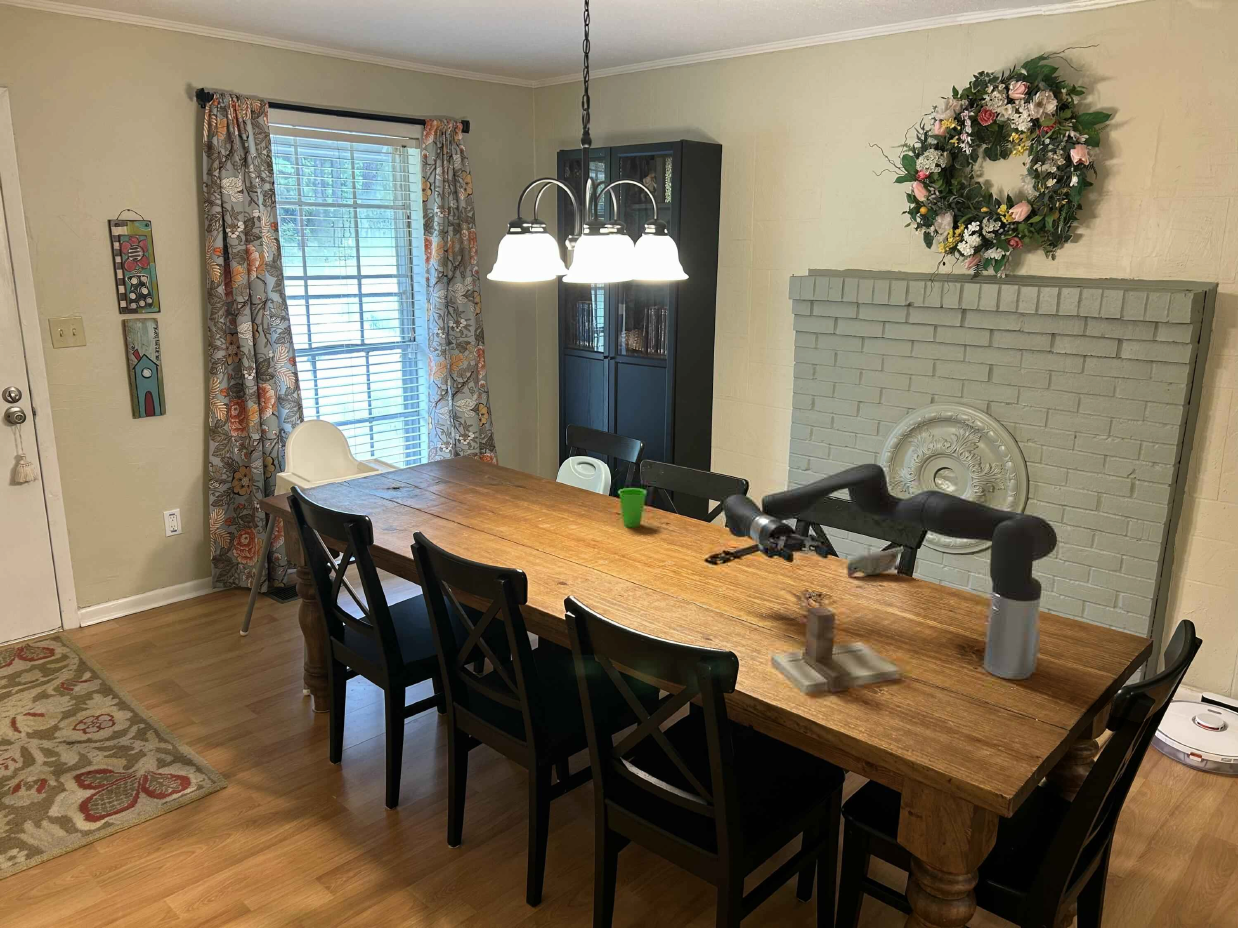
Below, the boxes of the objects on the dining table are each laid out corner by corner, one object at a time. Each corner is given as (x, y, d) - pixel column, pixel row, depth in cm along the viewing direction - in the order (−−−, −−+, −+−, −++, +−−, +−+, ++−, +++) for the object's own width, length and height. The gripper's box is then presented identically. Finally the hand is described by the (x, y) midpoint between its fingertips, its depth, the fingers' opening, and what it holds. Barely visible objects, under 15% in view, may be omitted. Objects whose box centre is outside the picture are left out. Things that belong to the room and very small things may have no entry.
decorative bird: (842, 574, 248) (844, 547, 246) (896, 570, 251) (898, 544, 249) (851, 580, 243) (853, 554, 241) (906, 576, 246) (908, 550, 244)
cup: (652, 525, 289) (652, 491, 286) (632, 531, 282) (633, 497, 280) (631, 519, 295) (631, 486, 292) (611, 525, 288) (612, 491, 286)
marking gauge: (816, 662, 193) (820, 602, 190) (849, 688, 181) (854, 626, 178) (799, 664, 191) (803, 605, 188) (832, 691, 180) (836, 628, 177)
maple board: (859, 650, 200) (860, 641, 200) (898, 678, 187) (899, 669, 187) (770, 664, 193) (771, 655, 192) (805, 694, 180) (805, 684, 180)
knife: (762, 544, 272) (762, 540, 272) (778, 550, 267) (778, 546, 267) (699, 560, 258) (699, 556, 257) (714, 567, 253) (715, 562, 252)
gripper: (745, 521, 208) (781, 542, 193) (800, 516, 212) (839, 536, 197) (744, 553, 209) (779, 576, 194) (798, 547, 214) (837, 569, 199)
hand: (809, 556), depth 196 cm, fingers open, 8 cm apart
